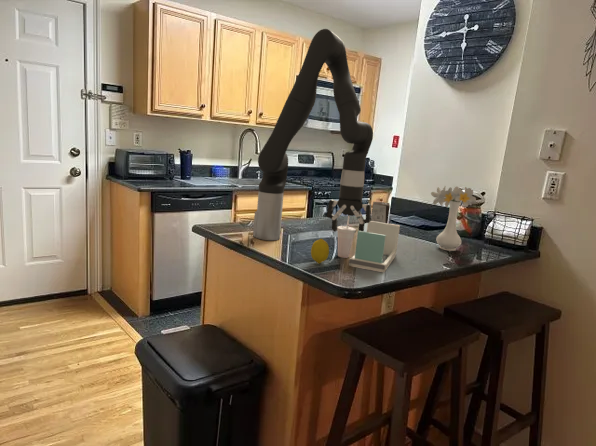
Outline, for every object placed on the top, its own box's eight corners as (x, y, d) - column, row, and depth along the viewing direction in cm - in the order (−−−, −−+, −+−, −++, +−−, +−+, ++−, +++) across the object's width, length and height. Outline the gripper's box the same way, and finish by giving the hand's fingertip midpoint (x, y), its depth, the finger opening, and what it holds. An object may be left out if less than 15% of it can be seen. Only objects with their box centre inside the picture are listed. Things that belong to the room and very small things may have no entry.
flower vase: (435, 241, 180) (444, 182, 175) (475, 253, 165) (487, 189, 161) (415, 244, 172) (425, 182, 167) (456, 256, 158) (468, 189, 153)
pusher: (354, 262, 133) (357, 231, 131) (354, 261, 134) (358, 230, 132) (380, 267, 130) (385, 235, 128) (381, 266, 131) (385, 235, 129)
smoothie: (340, 259, 139) (345, 217, 136) (330, 254, 145) (334, 213, 142) (356, 258, 142) (361, 217, 139) (345, 253, 148) (350, 213, 145)
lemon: (322, 267, 128) (324, 241, 127) (306, 263, 131) (308, 238, 129) (330, 264, 133) (333, 239, 131) (315, 260, 136) (317, 235, 134)
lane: (348, 266, 132) (352, 231, 130) (364, 250, 154) (368, 220, 152) (383, 272, 129) (388, 237, 126) (395, 256, 150) (399, 225, 148)
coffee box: (384, 248, 160) (390, 205, 157) (367, 245, 161) (372, 203, 158) (384, 242, 169) (389, 202, 166) (368, 240, 170) (373, 200, 167)
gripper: (375, 185, 140) (370, 234, 143) (334, 181, 145) (329, 228, 148) (371, 187, 133) (365, 238, 136) (327, 182, 138) (323, 231, 141)
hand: (347, 232), depth 142 cm, fingers open, 8 cm apart
